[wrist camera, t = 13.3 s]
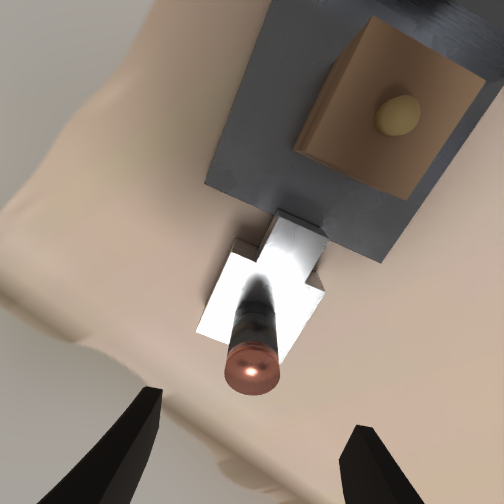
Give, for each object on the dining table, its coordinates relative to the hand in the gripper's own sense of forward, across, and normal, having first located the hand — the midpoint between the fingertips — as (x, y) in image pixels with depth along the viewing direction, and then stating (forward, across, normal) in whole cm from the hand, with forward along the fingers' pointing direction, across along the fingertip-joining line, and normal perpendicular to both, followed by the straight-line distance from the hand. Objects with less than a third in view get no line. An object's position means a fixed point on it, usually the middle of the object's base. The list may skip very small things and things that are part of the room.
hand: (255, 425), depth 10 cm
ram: (+10, 0, -1) cm, 10 cm away
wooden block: (+9, -2, -11) cm, 15 cm away
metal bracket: (+10, -2, -11) cm, 15 cm away
